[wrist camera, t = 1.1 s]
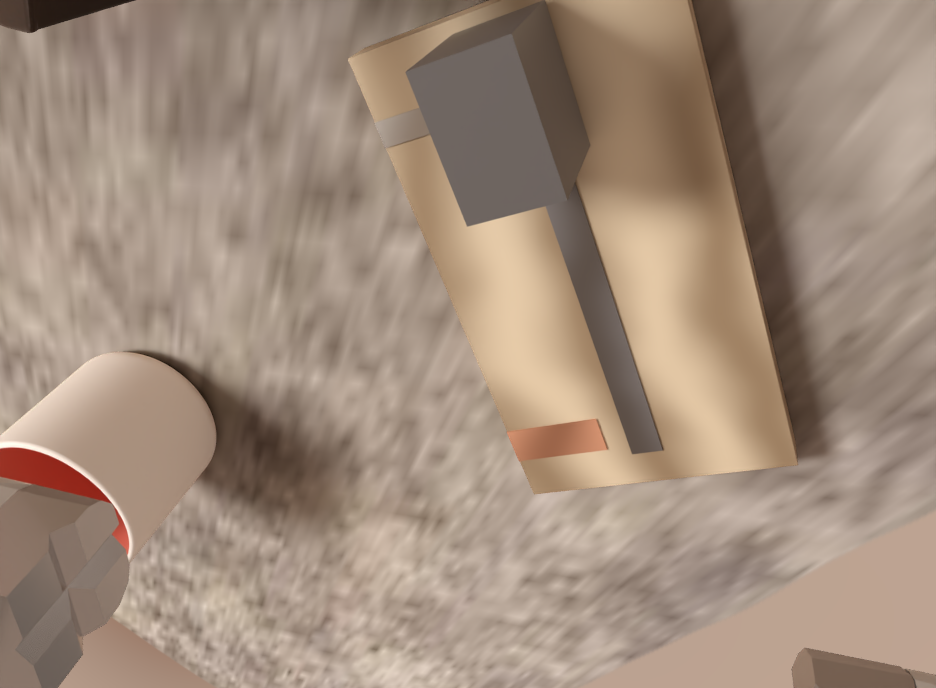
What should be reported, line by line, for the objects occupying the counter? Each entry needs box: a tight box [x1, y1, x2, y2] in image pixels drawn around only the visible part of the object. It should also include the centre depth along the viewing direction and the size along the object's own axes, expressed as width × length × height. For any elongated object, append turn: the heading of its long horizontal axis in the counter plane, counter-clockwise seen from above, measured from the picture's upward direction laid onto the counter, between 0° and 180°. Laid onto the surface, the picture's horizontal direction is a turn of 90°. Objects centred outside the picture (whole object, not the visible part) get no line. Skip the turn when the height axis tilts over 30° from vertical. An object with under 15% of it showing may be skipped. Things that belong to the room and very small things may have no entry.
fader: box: [405, 0, 590, 227], centre depth 31 cm, size 4×6×6 cm, turn 22°
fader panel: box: [348, 0, 798, 494], centre depth 38 cm, size 14×25×2 cm, turn 22°
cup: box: [0, 352, 216, 564], centre depth 49 cm, size 10×10×10 cm
